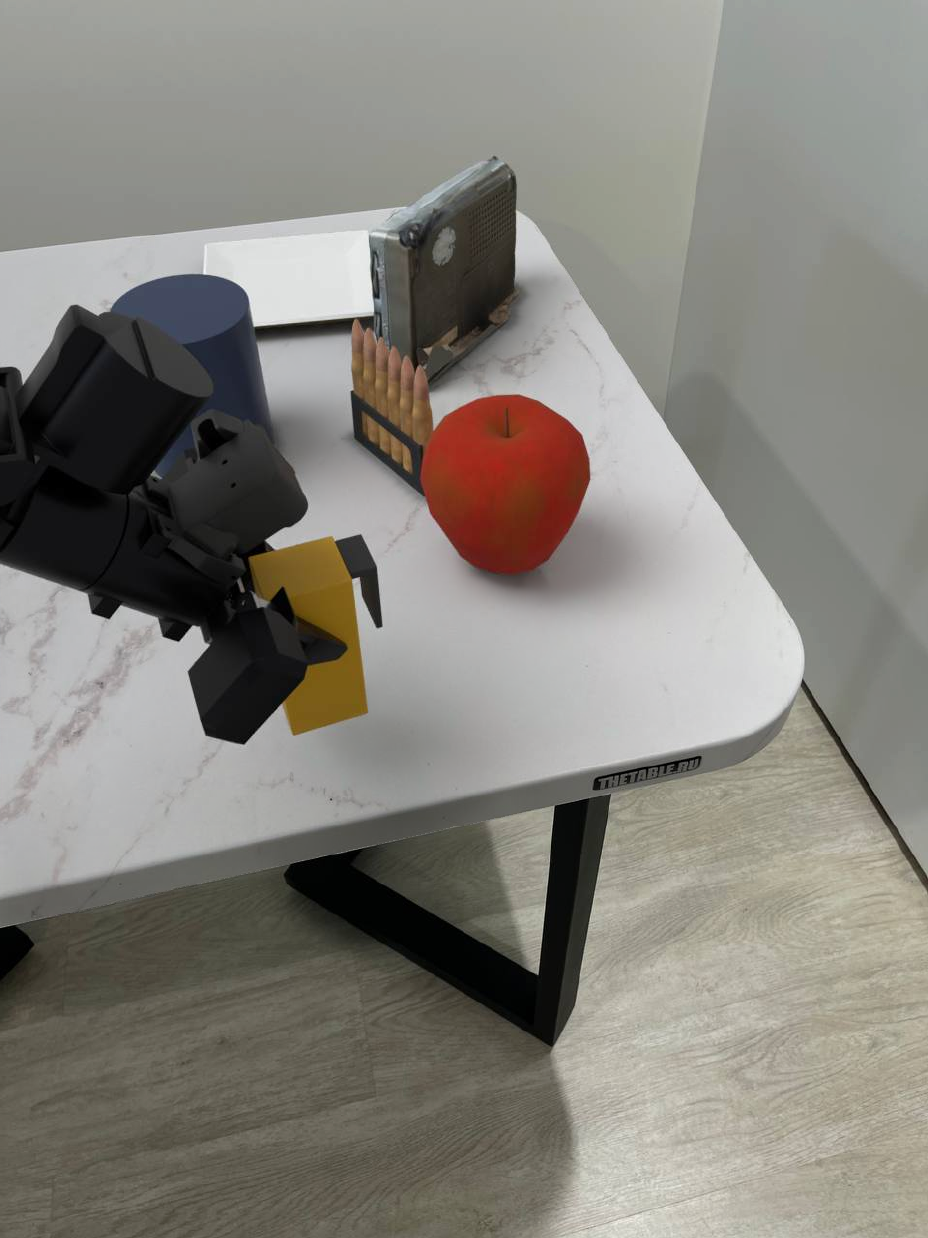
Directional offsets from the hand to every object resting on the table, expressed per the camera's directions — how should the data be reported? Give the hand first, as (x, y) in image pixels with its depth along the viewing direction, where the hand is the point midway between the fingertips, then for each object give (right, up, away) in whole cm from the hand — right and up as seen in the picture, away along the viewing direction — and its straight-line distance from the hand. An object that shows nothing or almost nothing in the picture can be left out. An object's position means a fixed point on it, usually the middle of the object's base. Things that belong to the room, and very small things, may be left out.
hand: (332, 627), depth 61 cm
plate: (-11, +36, +49) cm, 61 cm away
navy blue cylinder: (-15, +15, +29) cm, 35 cm away
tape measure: (-1, -5, +4) cm, 7 cm away
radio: (+6, +30, +43) cm, 53 cm away
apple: (+11, +5, +20) cm, 23 cm away
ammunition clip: (+2, +14, +28) cm, 32 cm away
